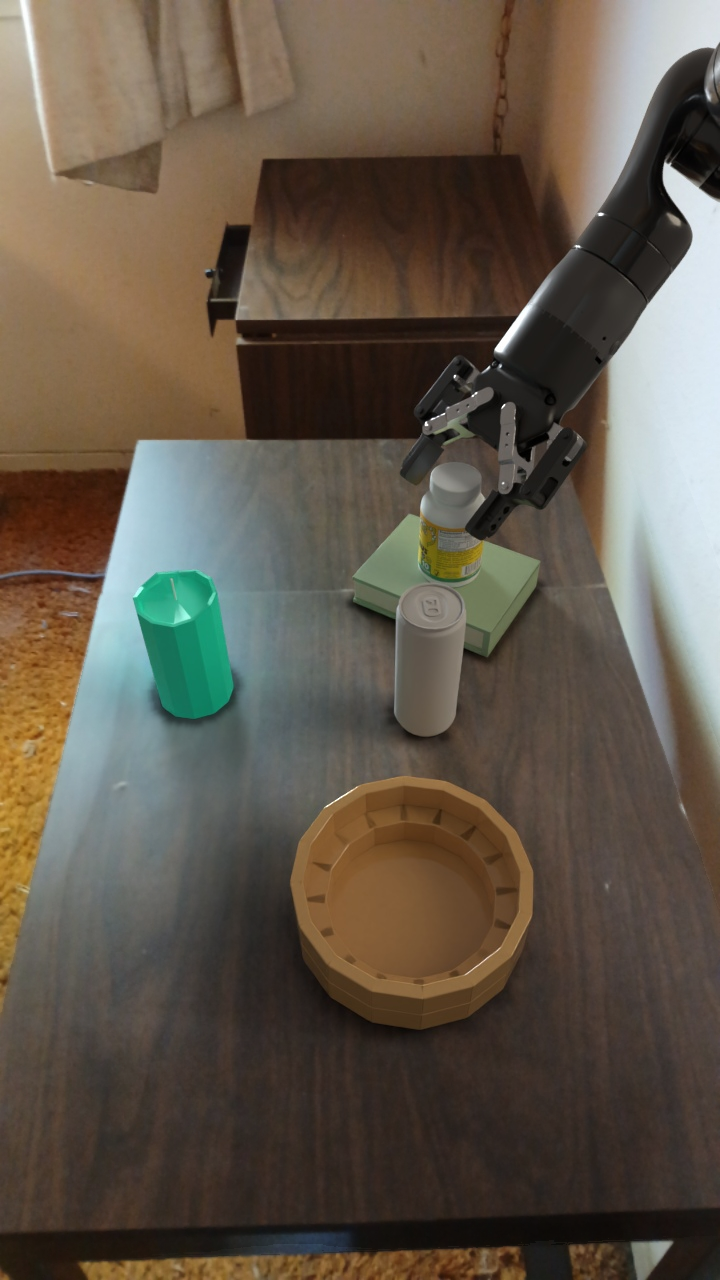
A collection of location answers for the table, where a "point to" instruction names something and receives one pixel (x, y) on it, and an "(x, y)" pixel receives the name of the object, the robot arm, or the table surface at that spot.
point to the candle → (185, 642)
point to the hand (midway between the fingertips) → (439, 507)
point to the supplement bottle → (450, 525)
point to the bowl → (411, 901)
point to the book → (485, 597)
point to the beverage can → (428, 657)
